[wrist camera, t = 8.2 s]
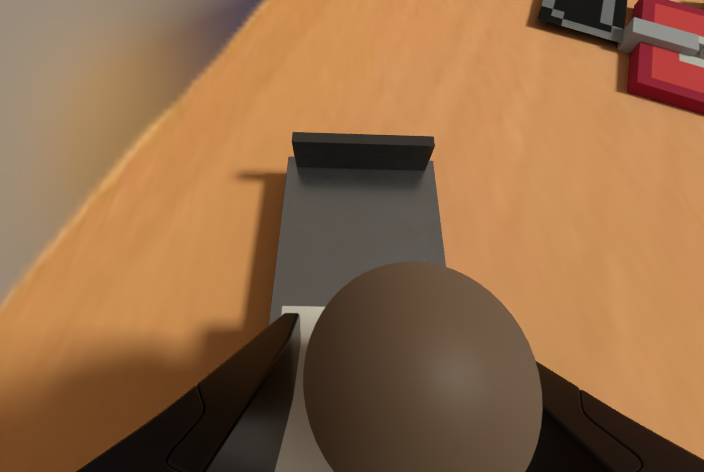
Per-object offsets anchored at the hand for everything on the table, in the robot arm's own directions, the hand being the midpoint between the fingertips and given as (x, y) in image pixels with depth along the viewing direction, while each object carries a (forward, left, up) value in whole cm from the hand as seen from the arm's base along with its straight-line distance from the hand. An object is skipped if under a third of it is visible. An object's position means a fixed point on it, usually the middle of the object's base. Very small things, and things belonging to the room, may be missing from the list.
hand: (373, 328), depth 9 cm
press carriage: (-1, -1, -5) cm, 5 cm away
